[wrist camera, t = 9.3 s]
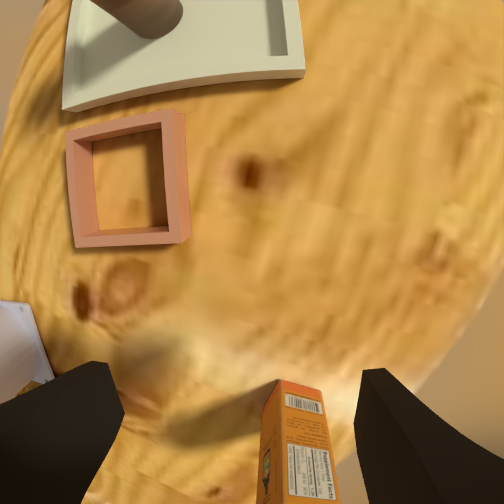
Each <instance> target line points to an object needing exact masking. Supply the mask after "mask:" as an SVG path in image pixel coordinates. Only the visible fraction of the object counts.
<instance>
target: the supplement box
mask: <svg viewBox="0 0 504 504" xmlns="http://www.w3.org/2000/svg"><path fill="white" fill-rule="evenodd" d="M256 504H341V502H340V495H339V490H338V484H337V477H336V471H335V465H334V459H333V453H332V447H331V441H330V435H329V430H328V425H327V419H326V414H325V409H324V403H323V398H322V393H321V391H320V390H317V389H313V388H310V387H306V386H302V385H299V384H295V383H291V382H288V381H284V380H279V382H278V383H277V385H276V387H275V388H274V390H273V392H272V394H271V396H270V397H269V399H268V401H267V403H266V405H265V407H264V408H263V411H262V420H261V435H260V451H259V466H258V482H257V498H256Z"/></svg>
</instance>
